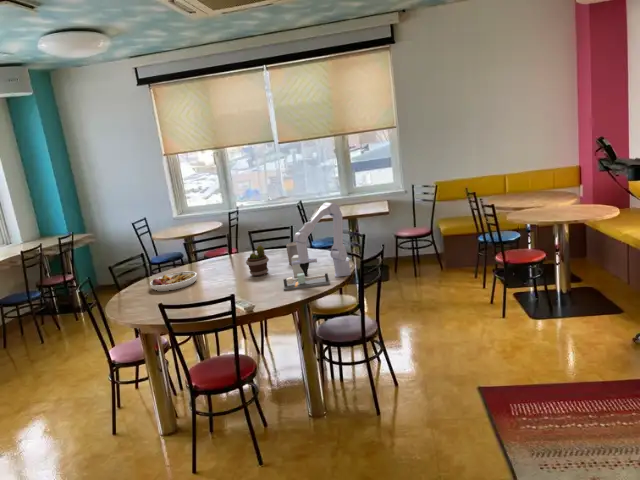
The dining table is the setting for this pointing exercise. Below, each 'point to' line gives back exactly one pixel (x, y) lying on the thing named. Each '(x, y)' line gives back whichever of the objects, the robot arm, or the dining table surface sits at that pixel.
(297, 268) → the supplement box
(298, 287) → the cord board
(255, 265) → the flowerpot
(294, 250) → the pillar candle
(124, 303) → the dining table surface
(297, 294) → the dining table surface
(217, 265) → the dining table surface
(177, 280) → the bowl
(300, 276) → the sleeve
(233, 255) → the dining table surface
